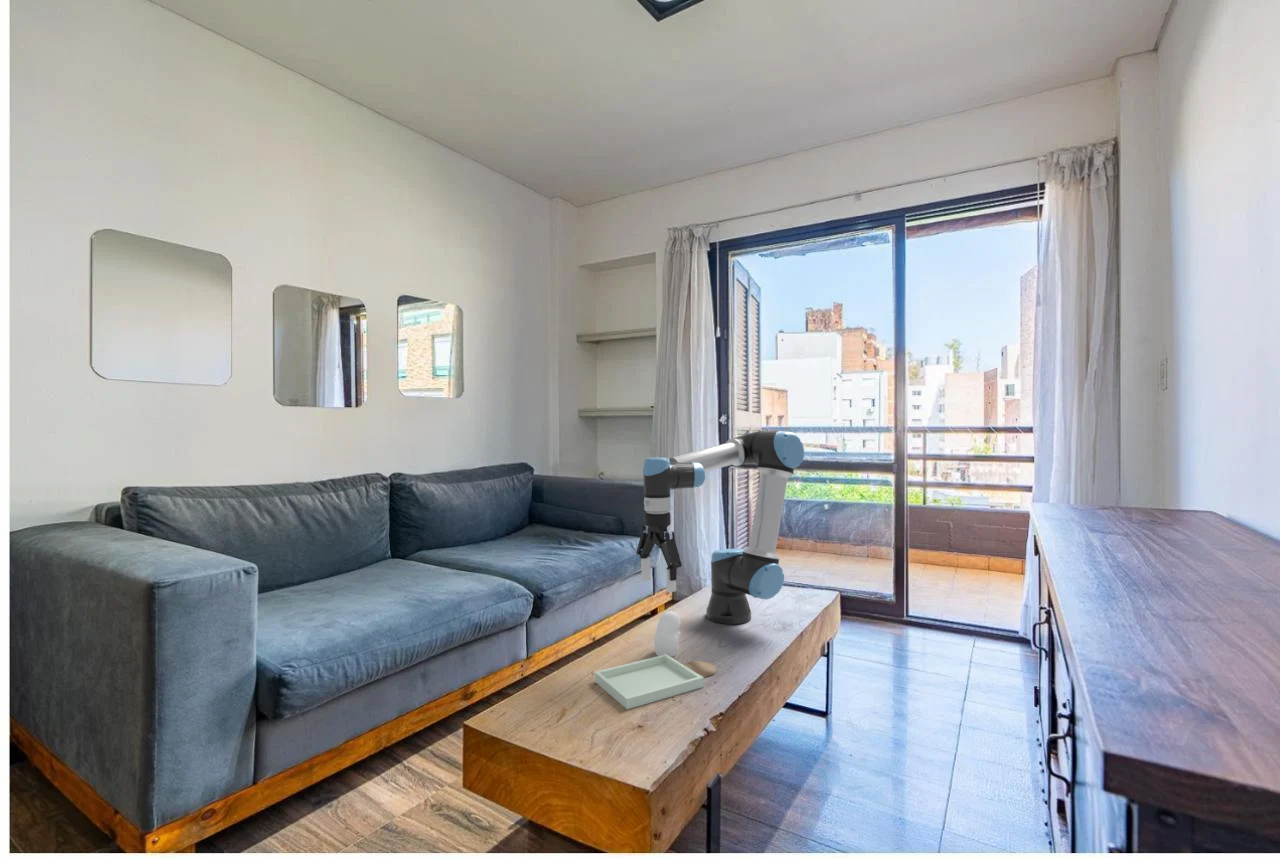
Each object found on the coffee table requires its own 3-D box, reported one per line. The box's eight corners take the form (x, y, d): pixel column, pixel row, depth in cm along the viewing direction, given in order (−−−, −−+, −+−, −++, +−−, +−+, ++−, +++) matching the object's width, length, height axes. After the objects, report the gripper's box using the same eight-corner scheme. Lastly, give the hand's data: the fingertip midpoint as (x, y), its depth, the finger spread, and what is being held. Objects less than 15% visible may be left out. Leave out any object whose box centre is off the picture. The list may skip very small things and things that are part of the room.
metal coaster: (696, 660, 159) (696, 658, 159) (723, 669, 152) (723, 668, 152) (675, 670, 152) (675, 668, 152) (702, 680, 146) (702, 678, 146)
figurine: (678, 659, 160) (678, 616, 160) (652, 657, 161) (652, 614, 161) (682, 649, 167) (681, 608, 166) (656, 647, 168) (656, 607, 168)
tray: (666, 662, 157) (666, 654, 157) (703, 686, 142) (703, 677, 142) (594, 681, 146) (594, 671, 146) (627, 709, 131) (627, 699, 131)
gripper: (624, 507, 171) (625, 577, 171) (670, 518, 150) (671, 599, 150) (646, 505, 175) (647, 574, 175) (693, 516, 154) (694, 594, 154)
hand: (658, 585), depth 163 cm, fingers open, 13 cm apart
